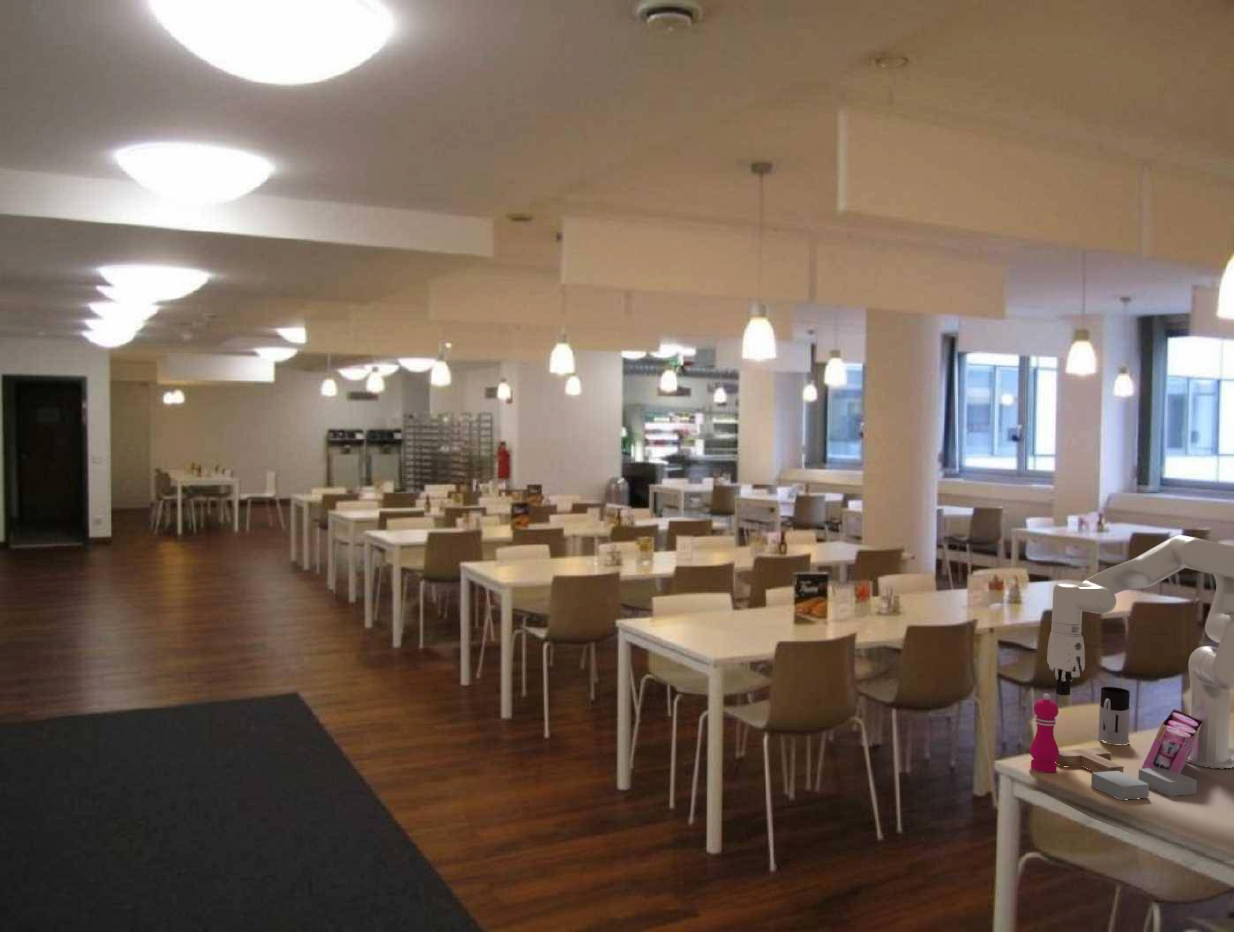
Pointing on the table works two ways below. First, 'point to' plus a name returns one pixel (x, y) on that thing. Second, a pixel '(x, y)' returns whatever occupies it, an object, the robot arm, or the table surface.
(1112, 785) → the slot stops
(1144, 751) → the table surface
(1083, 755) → the t block
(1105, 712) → the white and black cylinder
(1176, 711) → the gum box
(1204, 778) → the table surface
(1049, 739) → the pepper mill
